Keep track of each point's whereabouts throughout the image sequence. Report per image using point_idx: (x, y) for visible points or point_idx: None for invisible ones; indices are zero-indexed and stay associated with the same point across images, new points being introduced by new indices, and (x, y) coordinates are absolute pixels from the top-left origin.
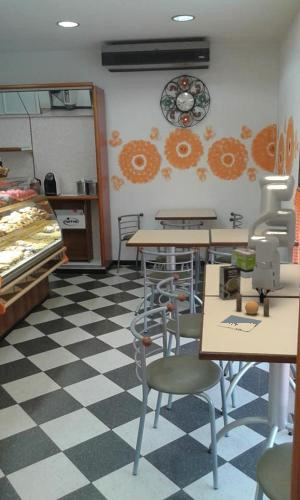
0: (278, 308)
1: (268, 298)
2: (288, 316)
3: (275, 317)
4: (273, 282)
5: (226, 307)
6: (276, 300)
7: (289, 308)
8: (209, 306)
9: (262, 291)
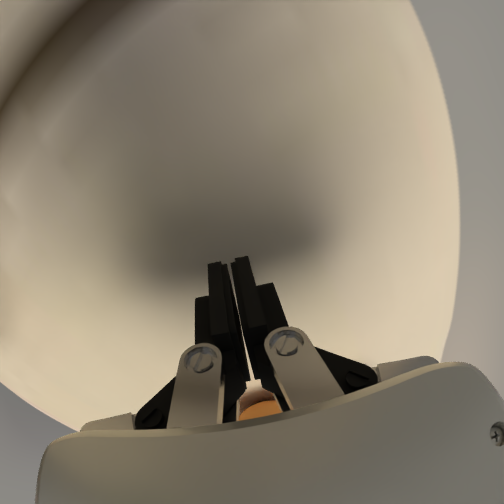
0: (378, 248)
1: None
2: (436, 314)
3: (384, 362)
4: (485, 455)
5: (103, 407)
6: (268, 31)
7: (439, 195)
8: (60, 417)
9: (223, 377)
